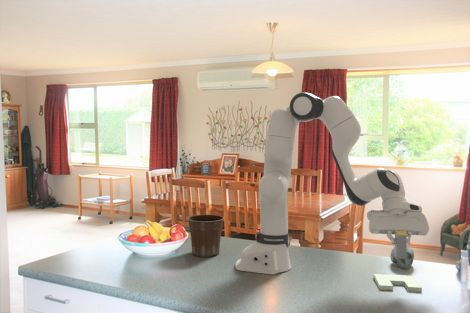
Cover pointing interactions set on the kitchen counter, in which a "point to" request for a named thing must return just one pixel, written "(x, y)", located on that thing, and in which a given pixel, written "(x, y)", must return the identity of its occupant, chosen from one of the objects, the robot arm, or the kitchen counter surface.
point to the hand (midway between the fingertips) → (400, 243)
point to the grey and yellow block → (400, 244)
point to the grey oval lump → (403, 262)
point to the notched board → (397, 282)
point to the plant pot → (205, 234)
